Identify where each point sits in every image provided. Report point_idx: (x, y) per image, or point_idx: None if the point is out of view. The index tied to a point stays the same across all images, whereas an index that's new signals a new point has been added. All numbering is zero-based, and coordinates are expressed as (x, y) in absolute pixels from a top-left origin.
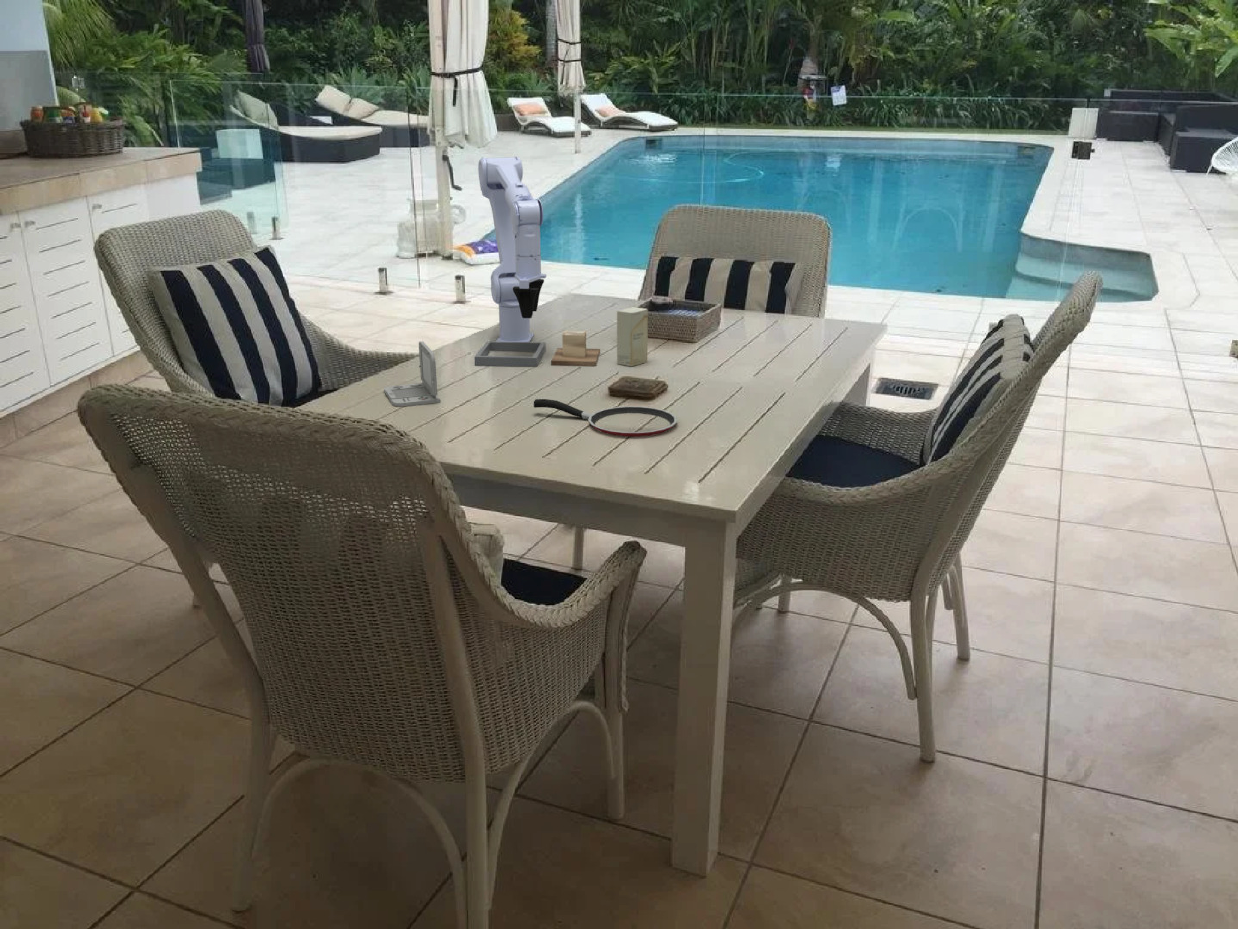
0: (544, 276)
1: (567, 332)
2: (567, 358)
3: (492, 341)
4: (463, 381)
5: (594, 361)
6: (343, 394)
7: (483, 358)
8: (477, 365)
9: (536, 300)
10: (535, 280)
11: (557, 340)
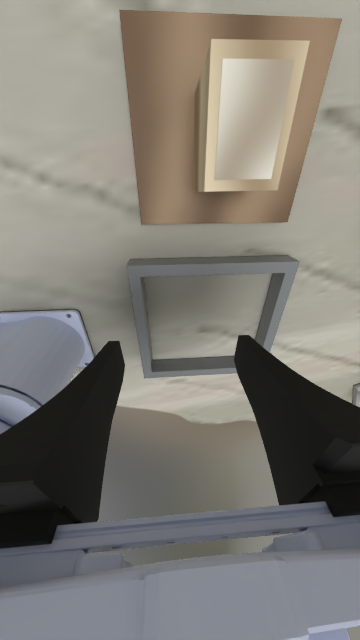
0: (294, 601)
1: (233, 170)
2: None
3: (143, 370)
4: (349, 354)
5: (336, 26)
6: None
7: None
8: None
9: (105, 373)
10: (46, 508)
11: (2, 244)
